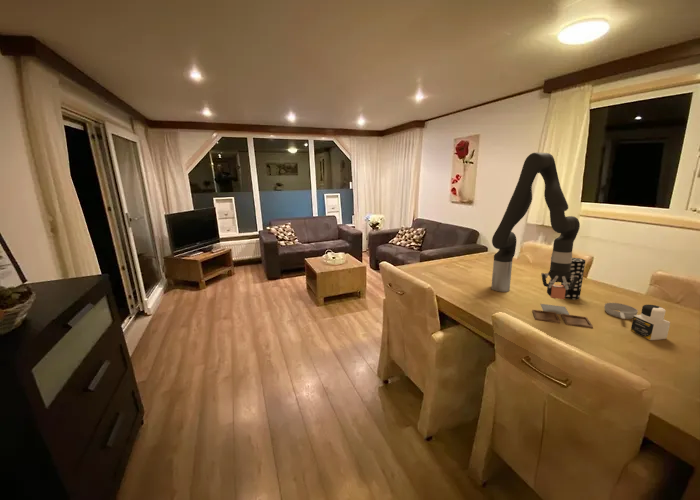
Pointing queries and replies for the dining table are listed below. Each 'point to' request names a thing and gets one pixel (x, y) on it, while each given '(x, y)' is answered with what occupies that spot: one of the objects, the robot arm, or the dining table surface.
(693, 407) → the dining table surface
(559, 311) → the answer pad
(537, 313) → the tray
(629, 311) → the saucepan
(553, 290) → the letter block
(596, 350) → the dining table surface
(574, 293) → the white-spotted black cylinder
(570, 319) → the tray
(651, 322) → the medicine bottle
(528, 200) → the robot arm
